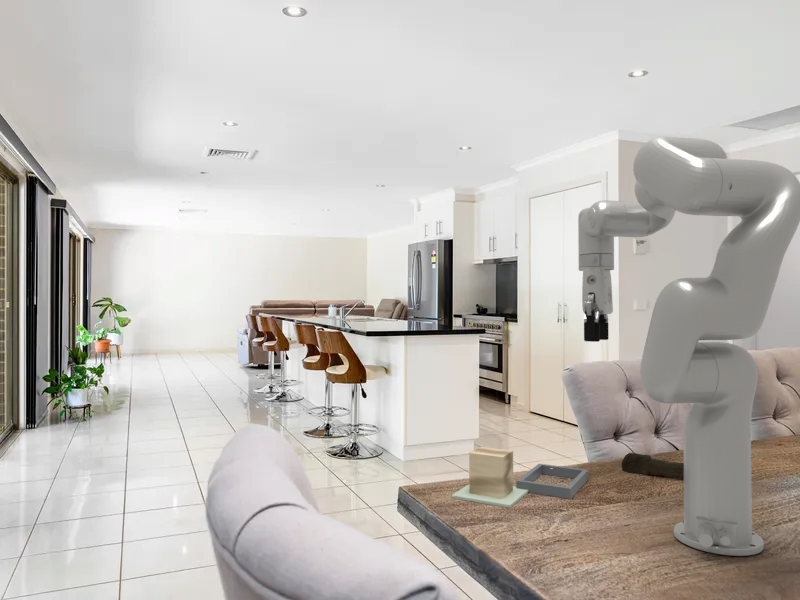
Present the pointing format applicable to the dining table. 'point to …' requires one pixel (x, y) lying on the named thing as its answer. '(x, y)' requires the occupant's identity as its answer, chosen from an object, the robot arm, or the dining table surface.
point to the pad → (505, 502)
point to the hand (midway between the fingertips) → (596, 340)
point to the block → (491, 472)
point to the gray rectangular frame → (549, 489)
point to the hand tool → (651, 466)
